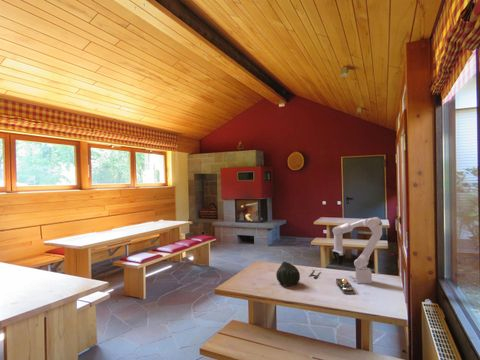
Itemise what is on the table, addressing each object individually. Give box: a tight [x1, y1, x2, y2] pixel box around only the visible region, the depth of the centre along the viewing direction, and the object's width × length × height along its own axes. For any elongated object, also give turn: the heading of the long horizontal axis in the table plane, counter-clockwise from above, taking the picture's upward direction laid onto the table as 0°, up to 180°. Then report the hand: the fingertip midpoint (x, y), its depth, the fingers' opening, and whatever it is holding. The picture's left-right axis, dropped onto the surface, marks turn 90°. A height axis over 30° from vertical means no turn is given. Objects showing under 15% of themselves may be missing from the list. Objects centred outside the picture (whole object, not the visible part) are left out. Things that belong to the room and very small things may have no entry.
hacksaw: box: [309, 269, 322, 280], centre depth 216 cm, size 24×10×2 cm, turn 152°
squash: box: [275, 261, 301, 287], centre depth 195 cm, size 14×15×15 cm
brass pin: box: [342, 278, 348, 288], centre depth 184 cm, size 2×2×6 cm
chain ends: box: [335, 278, 355, 295], centre depth 184 cm, size 6×17×4 cm, turn 178°
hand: (338, 263), depth 208 cm, fingers open, 7 cm apart
